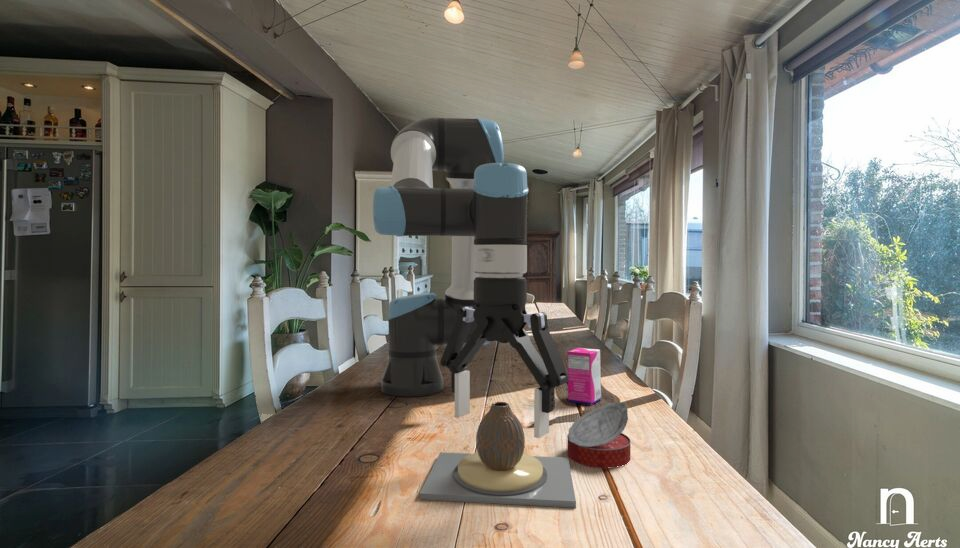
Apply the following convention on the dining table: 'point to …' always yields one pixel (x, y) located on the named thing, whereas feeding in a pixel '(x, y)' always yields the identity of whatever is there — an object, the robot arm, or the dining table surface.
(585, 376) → the supplement box
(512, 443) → the vase
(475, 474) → the board
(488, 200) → the robot arm
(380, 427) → the dining table surface
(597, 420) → the canned food
